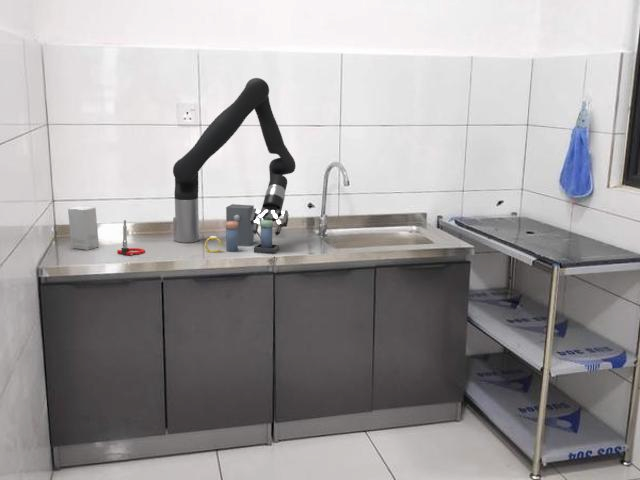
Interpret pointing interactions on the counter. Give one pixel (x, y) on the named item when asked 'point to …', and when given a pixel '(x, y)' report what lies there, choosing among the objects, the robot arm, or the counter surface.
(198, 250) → the counter surface
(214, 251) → the watch
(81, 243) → the grey paper bag
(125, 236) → the tow hook
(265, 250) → the tray
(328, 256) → the counter surface
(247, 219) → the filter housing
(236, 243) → the terracotta cap cartridge
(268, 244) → the green cap cartridge
